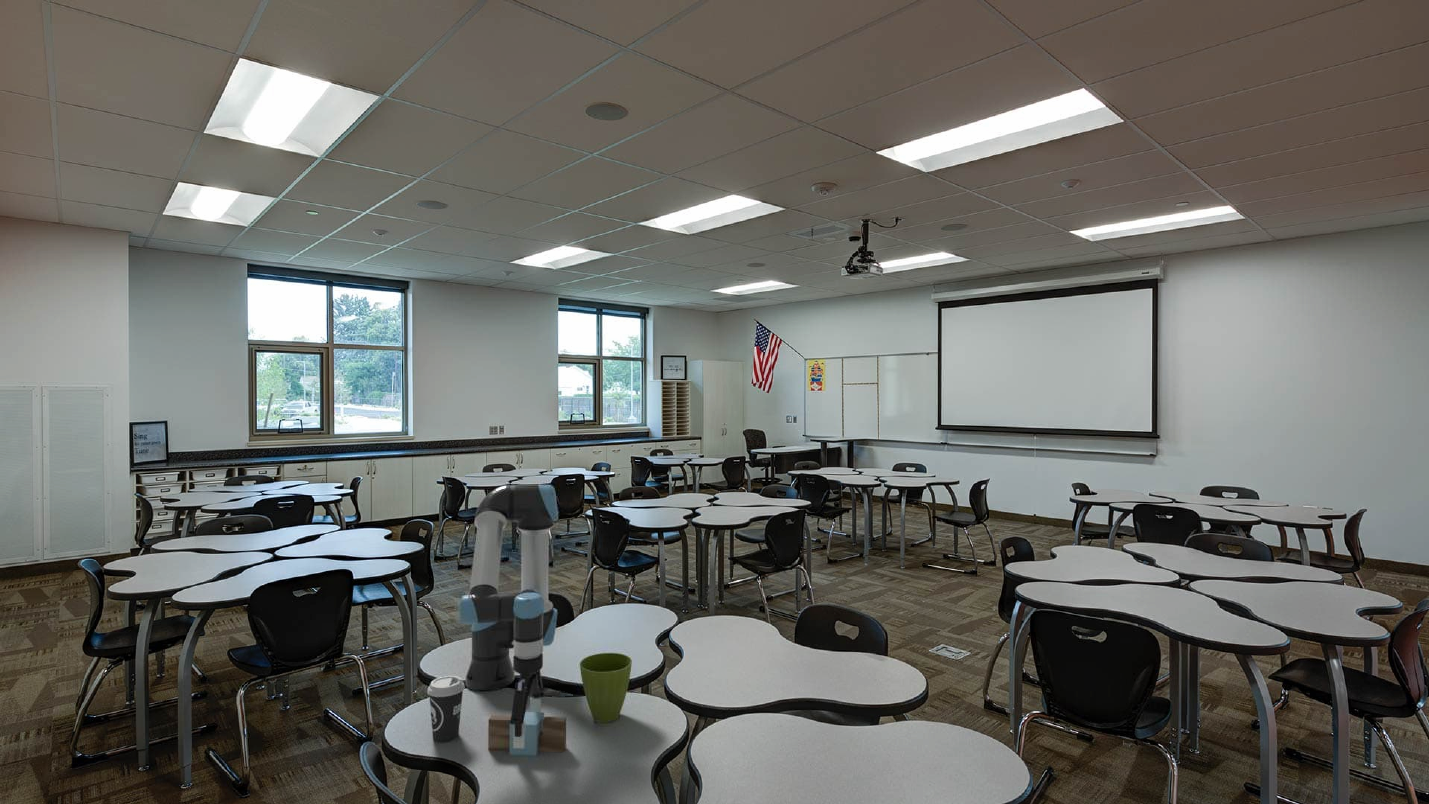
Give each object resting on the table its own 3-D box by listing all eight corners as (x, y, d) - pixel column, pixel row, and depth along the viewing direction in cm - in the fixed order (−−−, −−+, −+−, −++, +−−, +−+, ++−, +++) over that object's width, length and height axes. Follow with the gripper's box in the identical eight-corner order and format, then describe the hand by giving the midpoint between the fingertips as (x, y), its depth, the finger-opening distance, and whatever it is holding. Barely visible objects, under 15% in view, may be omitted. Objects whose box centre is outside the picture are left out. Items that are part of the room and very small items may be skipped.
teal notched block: (518, 741, 184) (518, 711, 184) (544, 742, 184) (544, 712, 184) (509, 754, 177) (509, 724, 177) (536, 755, 177) (536, 725, 177)
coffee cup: (451, 747, 180) (451, 690, 180) (419, 743, 182) (419, 687, 182) (471, 730, 190) (471, 676, 190) (440, 726, 192) (440, 673, 192)
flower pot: (569, 723, 194) (569, 667, 194) (596, 701, 208) (597, 649, 208) (614, 733, 189) (615, 675, 189) (640, 710, 203) (640, 656, 203)
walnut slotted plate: (491, 745, 182) (491, 715, 182) (566, 747, 181) (566, 717, 181) (488, 749, 179) (488, 719, 179) (563, 752, 179) (564, 721, 179)
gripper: (528, 637, 193) (527, 712, 193) (497, 672, 168) (496, 758, 168) (555, 637, 192) (554, 712, 192) (527, 673, 167) (526, 759, 168)
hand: (527, 734), depth 180 cm, fingers open, 13 cm apart
